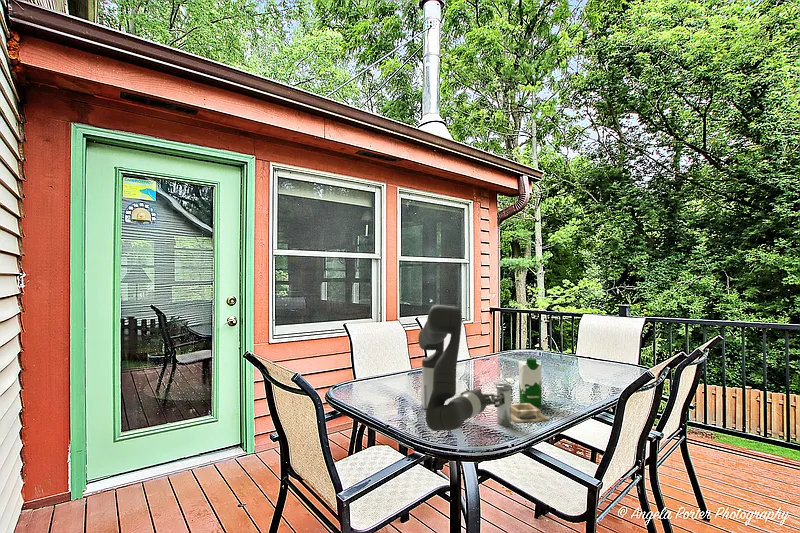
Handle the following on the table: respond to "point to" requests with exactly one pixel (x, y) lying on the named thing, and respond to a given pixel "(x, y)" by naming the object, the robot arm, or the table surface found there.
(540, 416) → the socket mount
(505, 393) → the metal canister
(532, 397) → the milk carton
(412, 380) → the table surface
